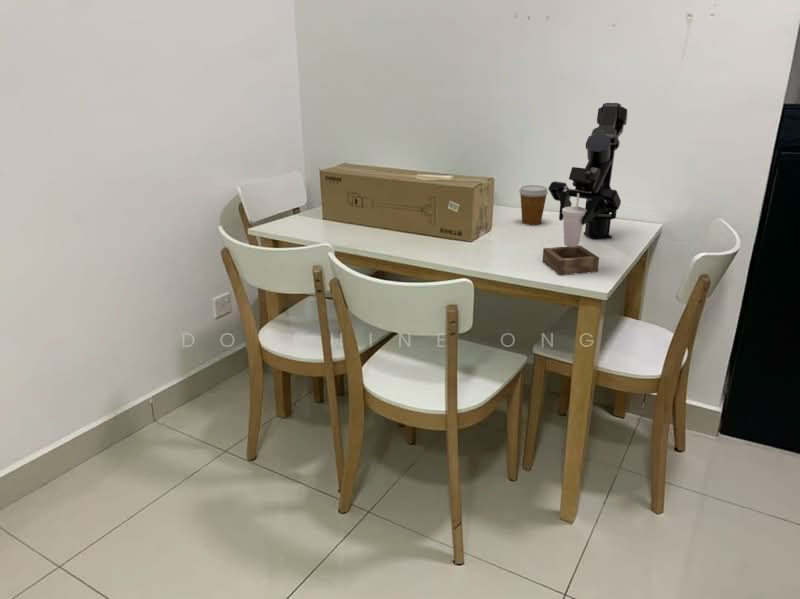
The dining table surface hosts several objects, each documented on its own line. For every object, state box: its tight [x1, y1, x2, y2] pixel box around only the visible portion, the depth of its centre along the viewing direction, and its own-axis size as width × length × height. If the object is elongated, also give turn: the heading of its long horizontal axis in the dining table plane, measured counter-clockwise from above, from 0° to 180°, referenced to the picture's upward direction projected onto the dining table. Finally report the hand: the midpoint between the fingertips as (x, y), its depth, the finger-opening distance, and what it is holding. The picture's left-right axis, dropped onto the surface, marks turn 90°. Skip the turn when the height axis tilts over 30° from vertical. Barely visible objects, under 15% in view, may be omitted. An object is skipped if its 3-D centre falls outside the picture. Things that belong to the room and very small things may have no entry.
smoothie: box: [562, 193, 587, 247], centre depth 162 cm, size 6×6×14 cm
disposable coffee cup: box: [518, 184, 549, 226], centre depth 206 cm, size 10×10×12 cm
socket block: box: [542, 244, 600, 276], centre depth 166 cm, size 11×11×4 cm
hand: (571, 221), depth 161 cm, fingers closed on smoothie, 6 cm apart
